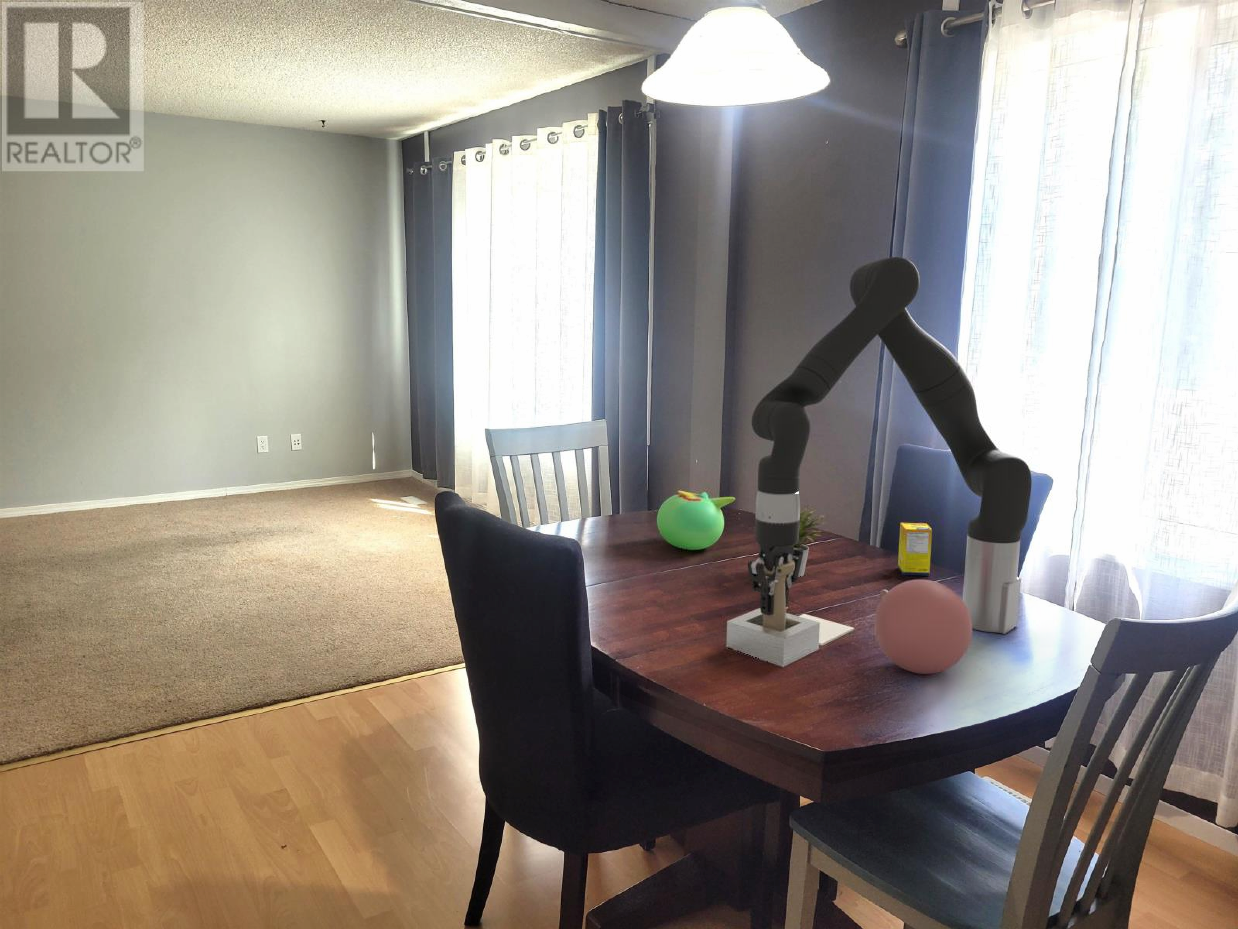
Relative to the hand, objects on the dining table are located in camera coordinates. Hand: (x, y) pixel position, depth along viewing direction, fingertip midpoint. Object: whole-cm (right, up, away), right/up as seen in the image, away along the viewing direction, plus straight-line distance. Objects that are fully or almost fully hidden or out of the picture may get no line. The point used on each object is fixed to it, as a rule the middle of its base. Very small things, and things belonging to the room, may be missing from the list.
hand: (774, 610), depth 157 cm
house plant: (+11, 0, +44) cm, 45 cm away
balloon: (+22, -8, -5) cm, 25 cm away
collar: (0, -7, +1) cm, 7 cm away
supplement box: (+40, +1, +47) cm, 62 cm away
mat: (+9, -5, +10) cm, 15 cm away
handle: (0, -6, +1) cm, 6 cm away
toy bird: (-9, +5, +67) cm, 67 cm away
